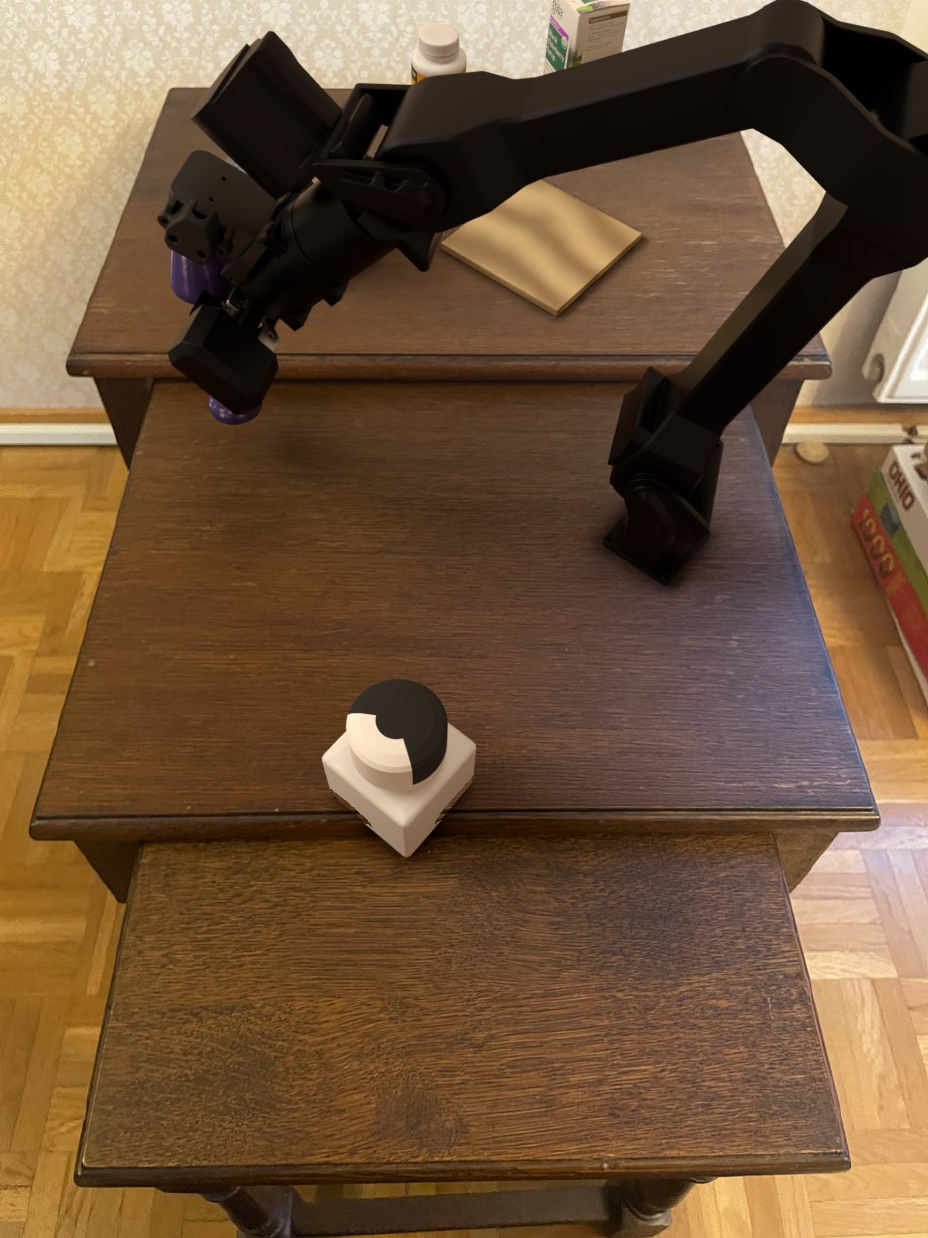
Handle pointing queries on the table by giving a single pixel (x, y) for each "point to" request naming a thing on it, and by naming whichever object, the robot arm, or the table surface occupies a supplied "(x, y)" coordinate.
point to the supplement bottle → (437, 52)
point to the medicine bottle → (399, 761)
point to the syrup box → (584, 31)
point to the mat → (542, 245)
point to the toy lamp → (188, 288)
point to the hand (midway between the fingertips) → (201, 333)
